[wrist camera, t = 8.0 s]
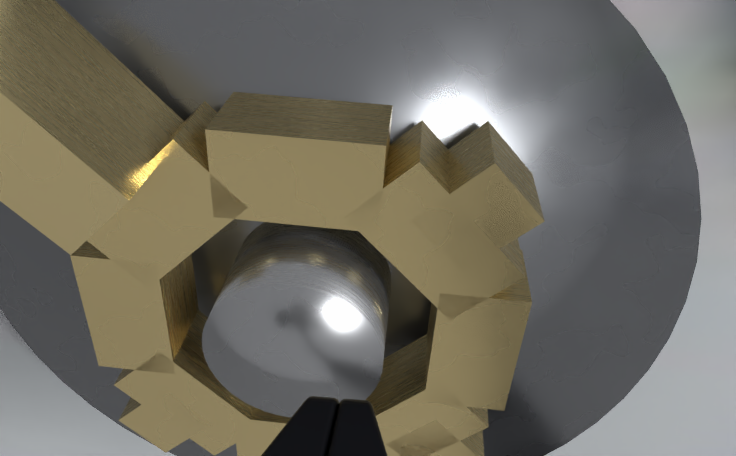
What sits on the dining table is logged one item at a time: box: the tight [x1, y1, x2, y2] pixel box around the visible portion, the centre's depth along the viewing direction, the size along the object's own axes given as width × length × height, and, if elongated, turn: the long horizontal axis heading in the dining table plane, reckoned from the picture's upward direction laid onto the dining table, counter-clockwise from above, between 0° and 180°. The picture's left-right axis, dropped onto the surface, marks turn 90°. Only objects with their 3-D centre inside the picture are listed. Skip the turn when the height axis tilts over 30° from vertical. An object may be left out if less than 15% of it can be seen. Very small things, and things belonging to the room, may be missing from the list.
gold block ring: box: [0, 0, 545, 456], centre depth 17 cm, size 19×15×4 cm
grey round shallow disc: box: [0, 0, 701, 456], centre depth 19 cm, size 23×23×5 cm
